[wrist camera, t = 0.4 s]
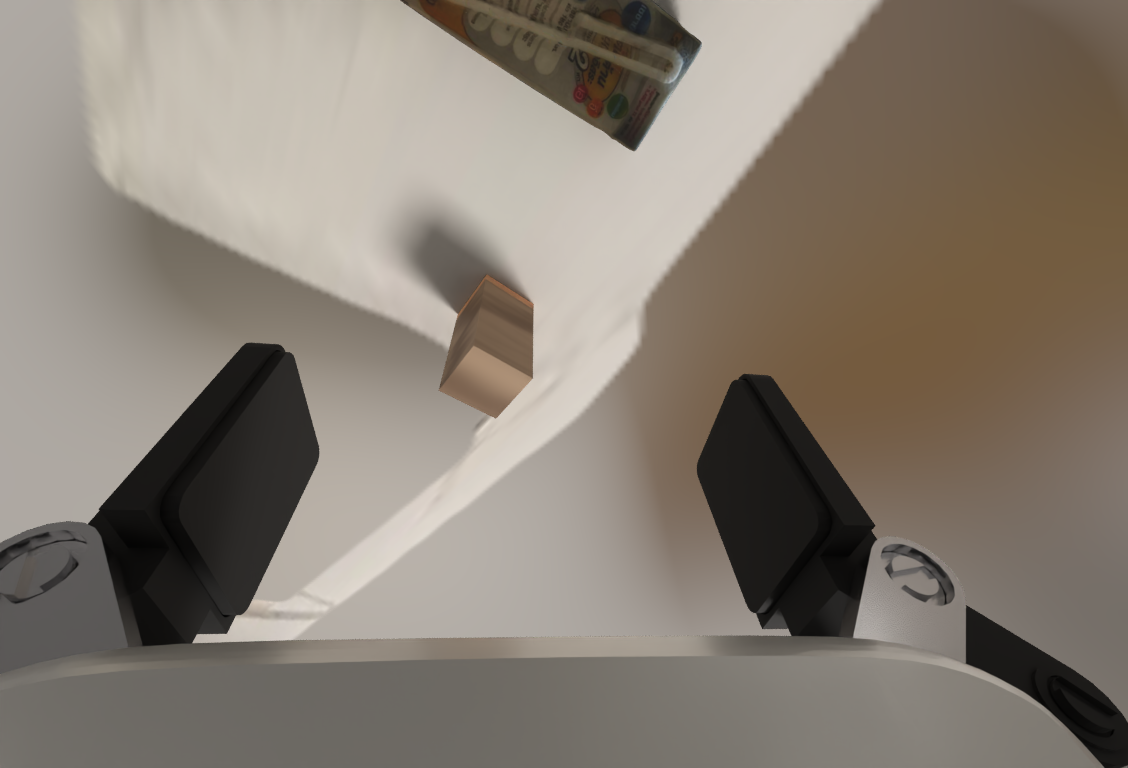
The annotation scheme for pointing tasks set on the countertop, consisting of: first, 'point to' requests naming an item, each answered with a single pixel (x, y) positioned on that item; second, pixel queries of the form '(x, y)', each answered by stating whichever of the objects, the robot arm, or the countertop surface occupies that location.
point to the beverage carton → (579, 53)
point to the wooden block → (490, 349)
